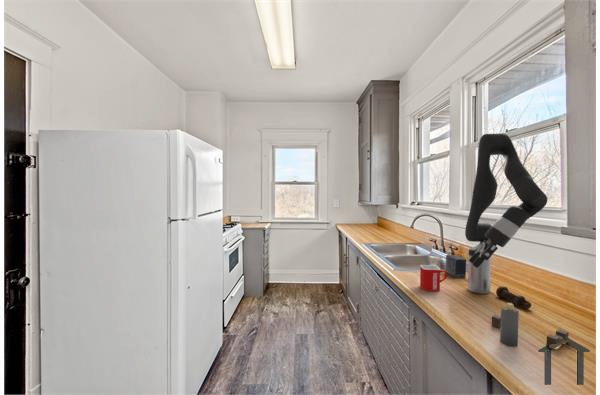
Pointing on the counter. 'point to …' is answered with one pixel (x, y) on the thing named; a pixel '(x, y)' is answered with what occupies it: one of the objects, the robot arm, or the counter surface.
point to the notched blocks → (551, 338)
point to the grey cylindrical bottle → (509, 325)
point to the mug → (431, 277)
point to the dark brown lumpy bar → (513, 297)
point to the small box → (456, 266)
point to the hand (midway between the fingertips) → (472, 264)
